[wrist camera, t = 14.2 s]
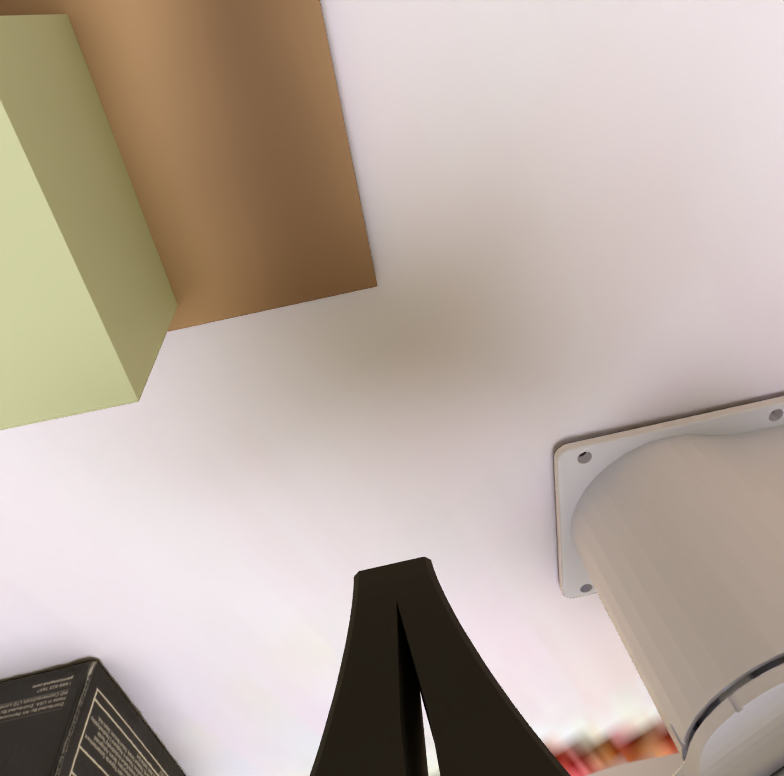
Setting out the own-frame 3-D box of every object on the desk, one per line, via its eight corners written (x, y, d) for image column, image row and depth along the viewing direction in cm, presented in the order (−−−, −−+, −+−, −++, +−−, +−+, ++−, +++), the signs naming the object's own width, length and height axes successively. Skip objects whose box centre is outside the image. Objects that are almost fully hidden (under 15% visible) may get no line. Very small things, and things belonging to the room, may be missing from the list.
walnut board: (297, -107, 13) (297, -111, 13) (374, 278, 18) (377, 286, 18) (-444, 45, 13) (-475, 46, 13) (-169, 395, 18) (-182, 406, 17)
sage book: (67, 14, 14) (-38, 16, 9) (177, 305, 17) (138, 401, 13) (-117, 49, 13) (-308, 68, 9) (34, 334, 17) (-53, 441, 13)
